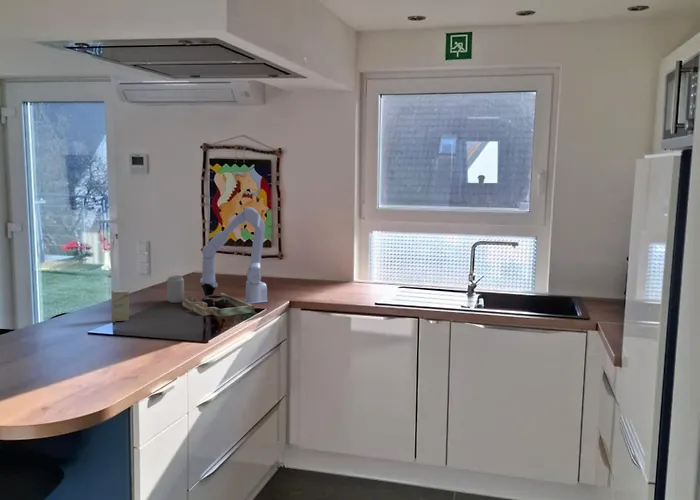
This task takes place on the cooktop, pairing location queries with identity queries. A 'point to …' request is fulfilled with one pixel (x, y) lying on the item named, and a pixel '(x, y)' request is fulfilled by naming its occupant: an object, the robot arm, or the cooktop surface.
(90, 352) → the cooktop surface
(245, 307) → the beige square zigzag bar
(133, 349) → the cooktop surface
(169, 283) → the can
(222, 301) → the donut
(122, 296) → the skincare box
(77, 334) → the cooktop surface
